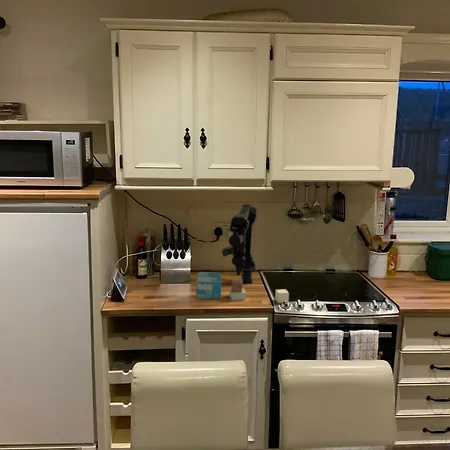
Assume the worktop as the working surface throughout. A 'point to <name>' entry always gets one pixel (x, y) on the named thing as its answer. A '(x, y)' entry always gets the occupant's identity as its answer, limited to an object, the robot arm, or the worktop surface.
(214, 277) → the data package
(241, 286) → the walnut cube
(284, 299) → the offwhite cube
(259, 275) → the worktop surface
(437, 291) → the worktop surface
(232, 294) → the sage base block
